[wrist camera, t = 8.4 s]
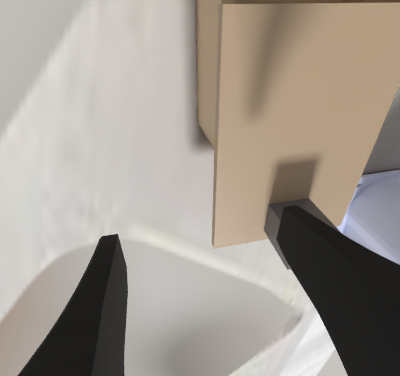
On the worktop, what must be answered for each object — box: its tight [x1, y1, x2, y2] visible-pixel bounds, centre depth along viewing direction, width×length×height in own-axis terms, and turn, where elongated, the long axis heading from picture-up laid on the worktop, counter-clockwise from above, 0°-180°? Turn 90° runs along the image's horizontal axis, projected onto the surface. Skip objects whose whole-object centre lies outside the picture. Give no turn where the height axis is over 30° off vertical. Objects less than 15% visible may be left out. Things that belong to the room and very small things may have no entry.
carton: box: [196, 0, 400, 151], centre depth 14 cm, size 14×10×5 cm
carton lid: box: [212, 2, 400, 269], centre depth 14 cm, size 14×10×4 cm
